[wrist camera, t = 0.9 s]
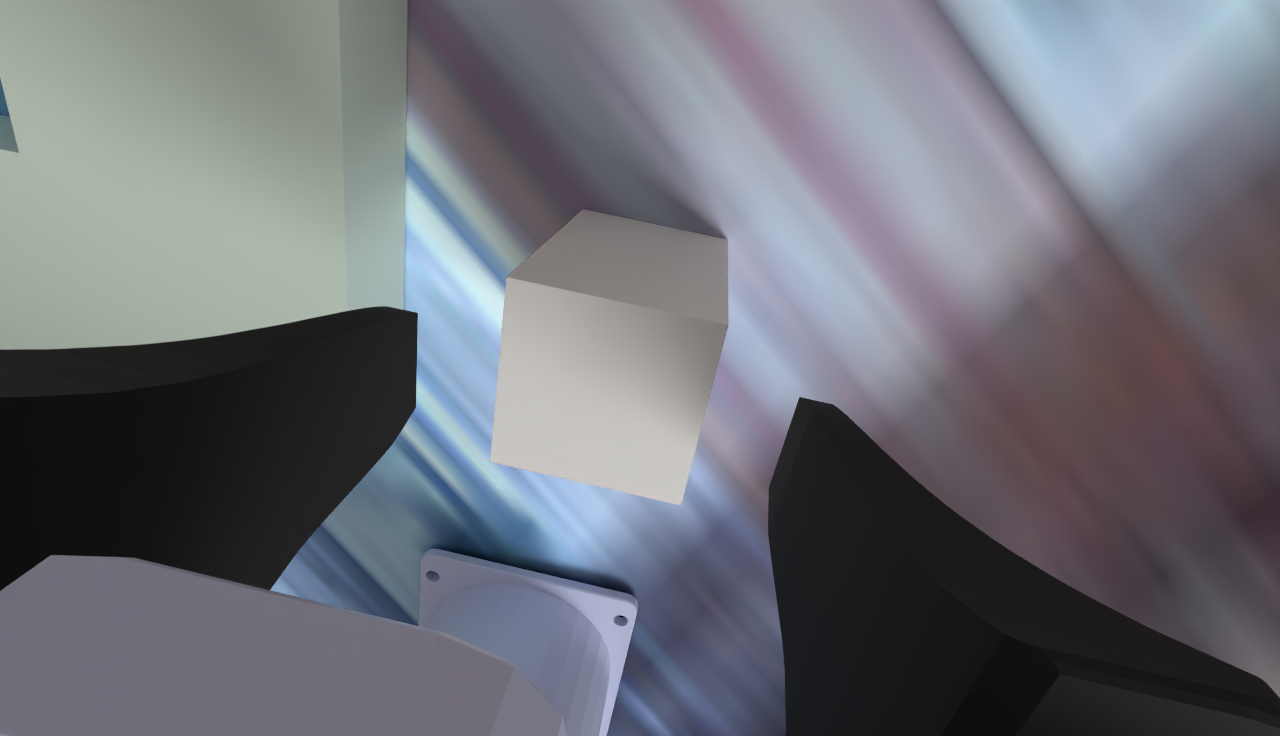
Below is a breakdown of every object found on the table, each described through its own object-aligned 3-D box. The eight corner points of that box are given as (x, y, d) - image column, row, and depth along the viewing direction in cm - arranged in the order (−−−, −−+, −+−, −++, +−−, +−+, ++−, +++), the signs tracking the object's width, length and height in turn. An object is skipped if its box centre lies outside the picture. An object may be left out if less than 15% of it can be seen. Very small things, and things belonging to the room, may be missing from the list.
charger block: (695, 370, 18) (680, 505, 12) (564, 341, 18) (490, 461, 13) (727, 239, 17) (728, 325, 11) (583, 208, 17) (505, 276, 11)
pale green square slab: (402, 419, 20) (352, 470, 18) (-51, 316, 21) (-165, 351, 18) (409, -204, 13) (330, -276, 11) (-267, -330, 14) (-504, -429, 11)
